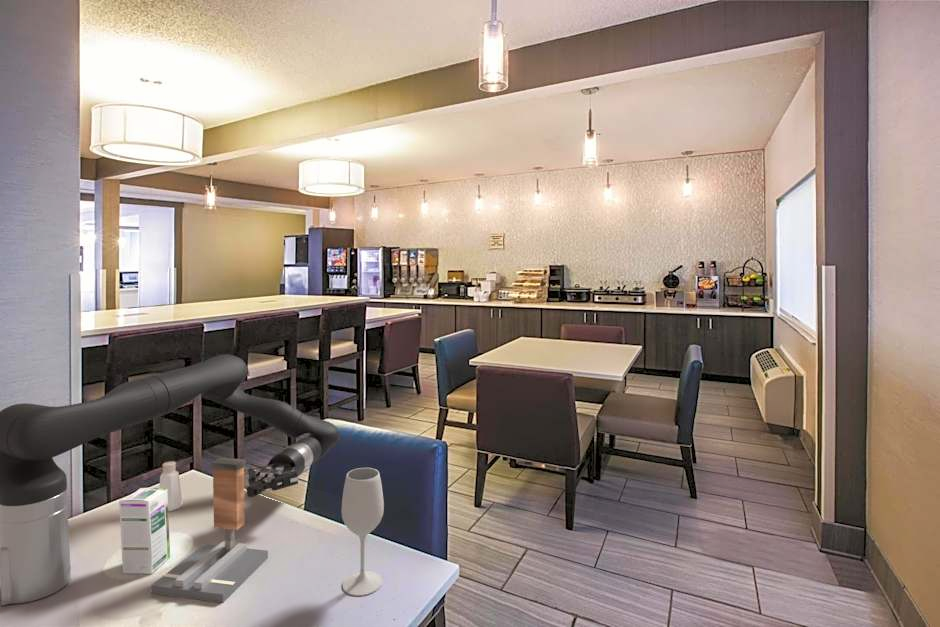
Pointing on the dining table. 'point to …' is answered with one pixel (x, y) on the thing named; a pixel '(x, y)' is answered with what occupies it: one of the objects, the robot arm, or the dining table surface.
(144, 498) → the syrup box
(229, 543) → the lever
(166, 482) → the salt shaker
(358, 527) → the wineglass
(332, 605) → the dining table surface
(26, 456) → the robot arm
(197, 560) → the grey slotted base
